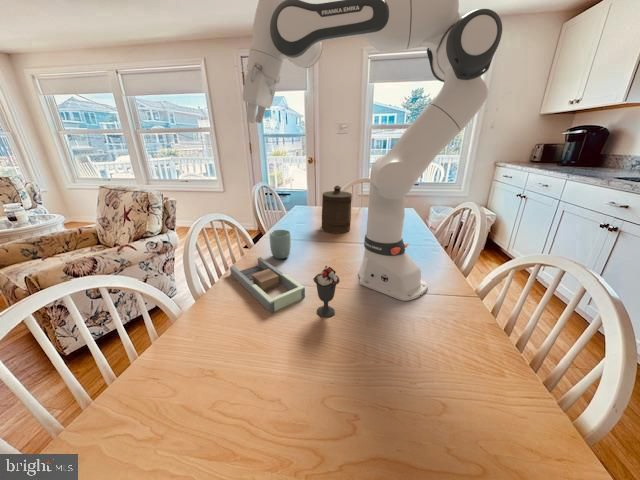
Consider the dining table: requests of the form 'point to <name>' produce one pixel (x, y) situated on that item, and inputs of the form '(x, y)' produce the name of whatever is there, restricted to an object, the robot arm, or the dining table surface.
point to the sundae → (326, 290)
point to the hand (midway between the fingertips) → (254, 122)
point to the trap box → (269, 303)
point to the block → (266, 280)
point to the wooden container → (336, 211)
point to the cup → (280, 243)
